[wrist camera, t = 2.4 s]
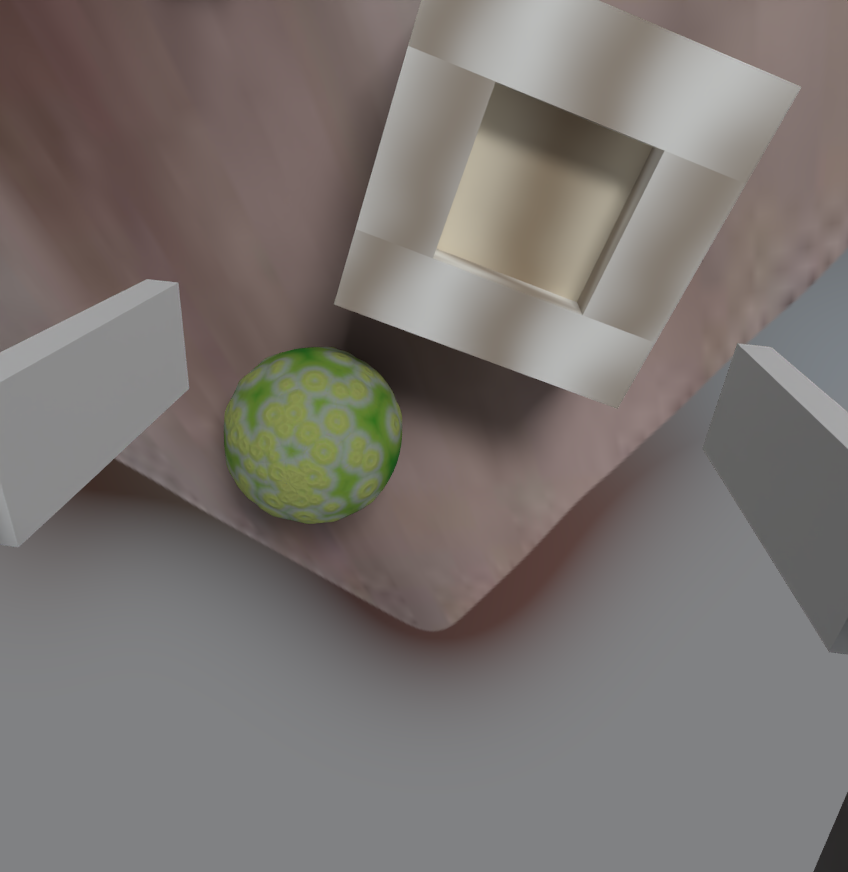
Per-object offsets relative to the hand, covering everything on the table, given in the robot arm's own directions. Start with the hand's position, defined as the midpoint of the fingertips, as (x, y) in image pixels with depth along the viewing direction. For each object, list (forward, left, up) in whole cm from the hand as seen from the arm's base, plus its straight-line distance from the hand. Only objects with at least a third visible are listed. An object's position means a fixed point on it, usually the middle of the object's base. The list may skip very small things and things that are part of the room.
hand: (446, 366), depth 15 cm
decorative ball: (-4, -13, -22) cm, 25 cm away
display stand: (+2, +3, -21) cm, 22 cm away
